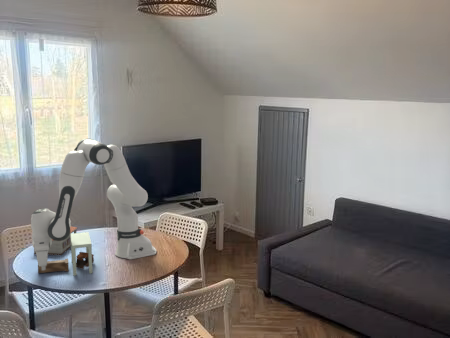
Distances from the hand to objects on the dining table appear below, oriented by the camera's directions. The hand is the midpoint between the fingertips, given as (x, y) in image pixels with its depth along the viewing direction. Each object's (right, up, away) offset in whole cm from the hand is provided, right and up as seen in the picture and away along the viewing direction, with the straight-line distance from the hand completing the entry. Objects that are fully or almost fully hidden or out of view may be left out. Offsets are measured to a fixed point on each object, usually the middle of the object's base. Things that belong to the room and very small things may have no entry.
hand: (43, 268), depth 210 cm
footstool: (+17, -1, +7) cm, 18 cm away
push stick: (+4, -2, +2) cm, 5 cm away
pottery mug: (+18, -2, +7) cm, 19 cm away
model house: (-7, +3, +35) cm, 35 cm away
